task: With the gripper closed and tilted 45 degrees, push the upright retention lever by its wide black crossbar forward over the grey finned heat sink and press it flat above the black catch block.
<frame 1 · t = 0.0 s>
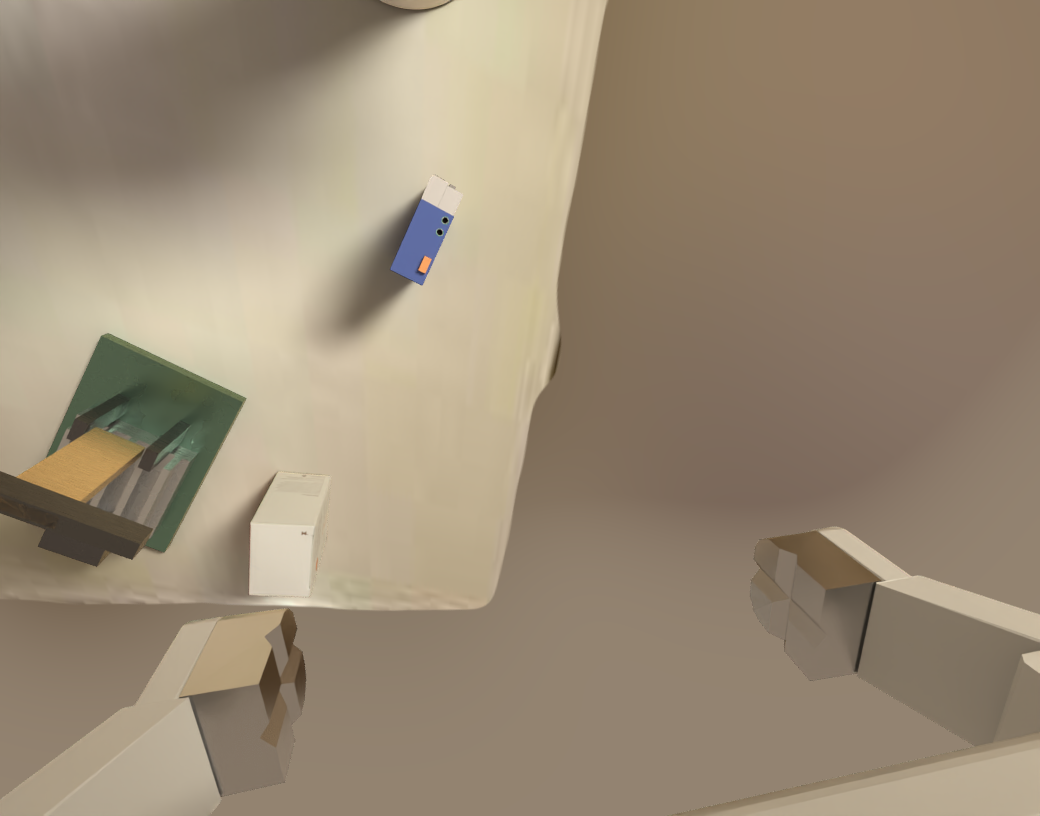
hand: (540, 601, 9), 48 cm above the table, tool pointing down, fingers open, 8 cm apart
small box: (303, 504, 59), on the table
retention lever: (77, 472, 41), point 13 cm above the table, hinge at 0.0°
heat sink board: (157, 414, 53), on the table
walkman: (424, 229, 52), on the table
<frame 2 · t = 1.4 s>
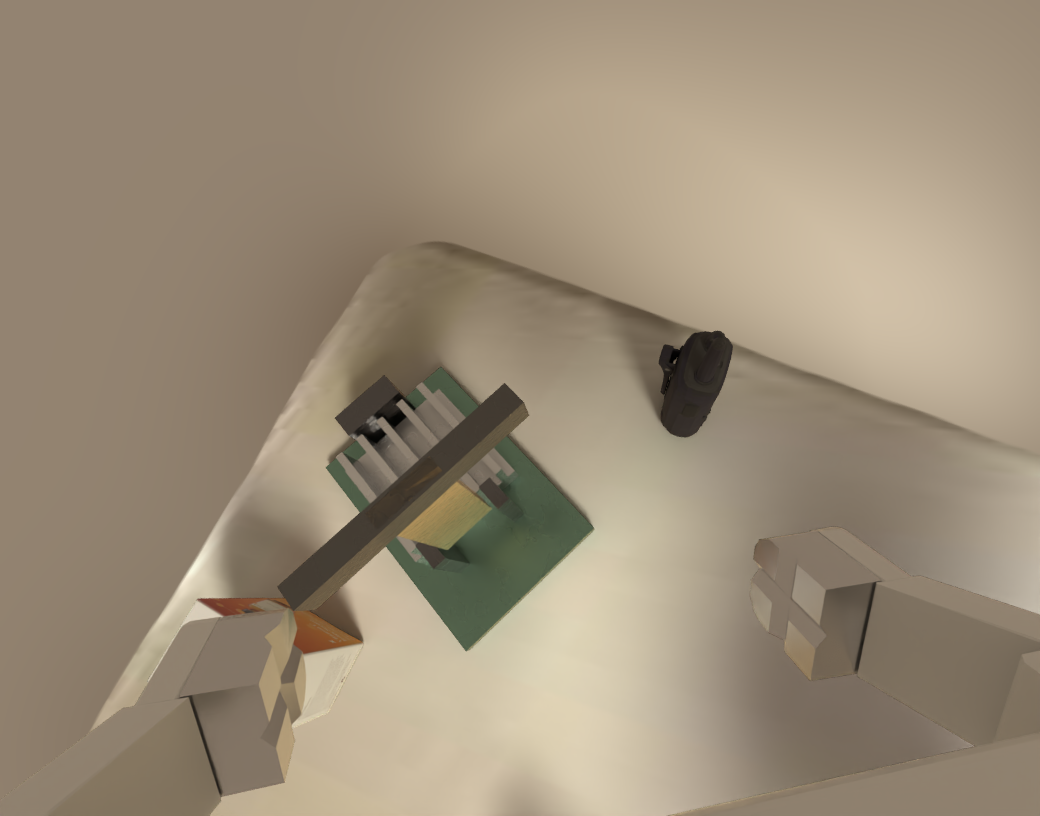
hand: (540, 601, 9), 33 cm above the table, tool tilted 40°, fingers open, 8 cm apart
small box: (308, 652, 42), on the table
retention lever: (440, 511, 31), point 13 cm above the table, hinge at 0.0°
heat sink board: (487, 534, 43), on the table
two-way radio: (676, 408, 44), on the table
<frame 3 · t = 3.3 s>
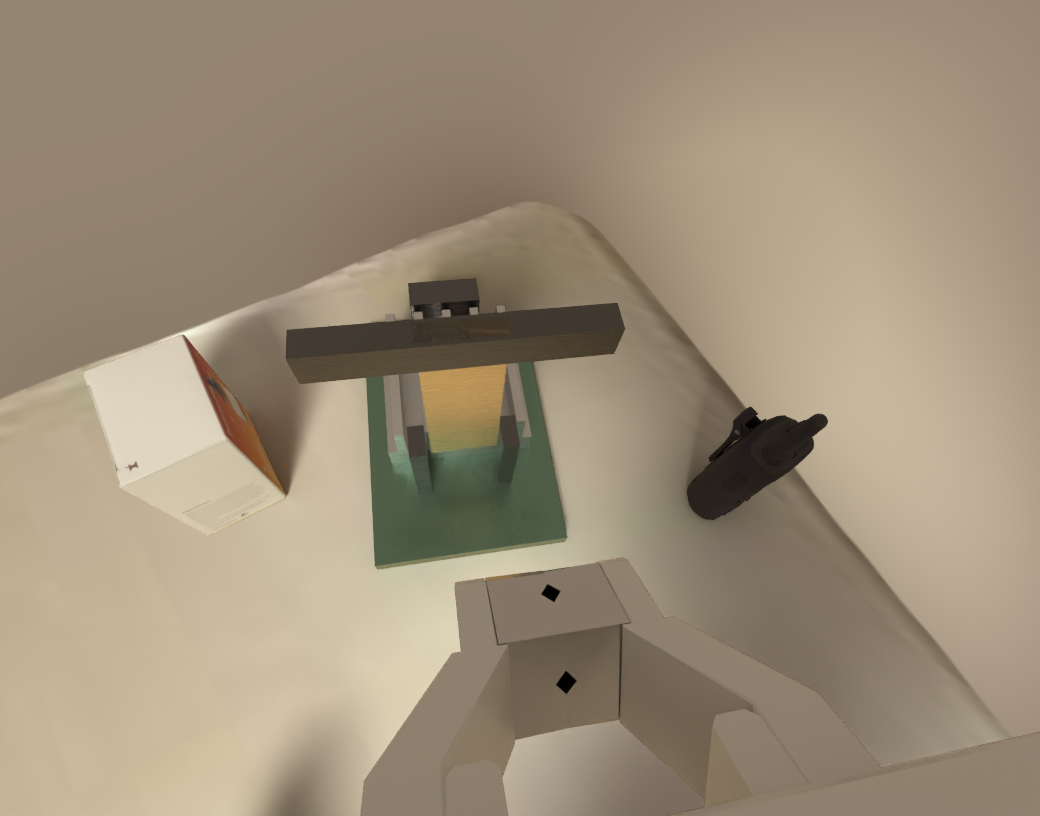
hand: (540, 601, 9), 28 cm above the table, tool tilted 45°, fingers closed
small box: (230, 471, 39), on the table
retention lever: (462, 396, 28), point 13 cm above the table, hinge at 0.0°
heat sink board: (464, 480, 40), on the table
two-way radio: (707, 487, 41), on the table
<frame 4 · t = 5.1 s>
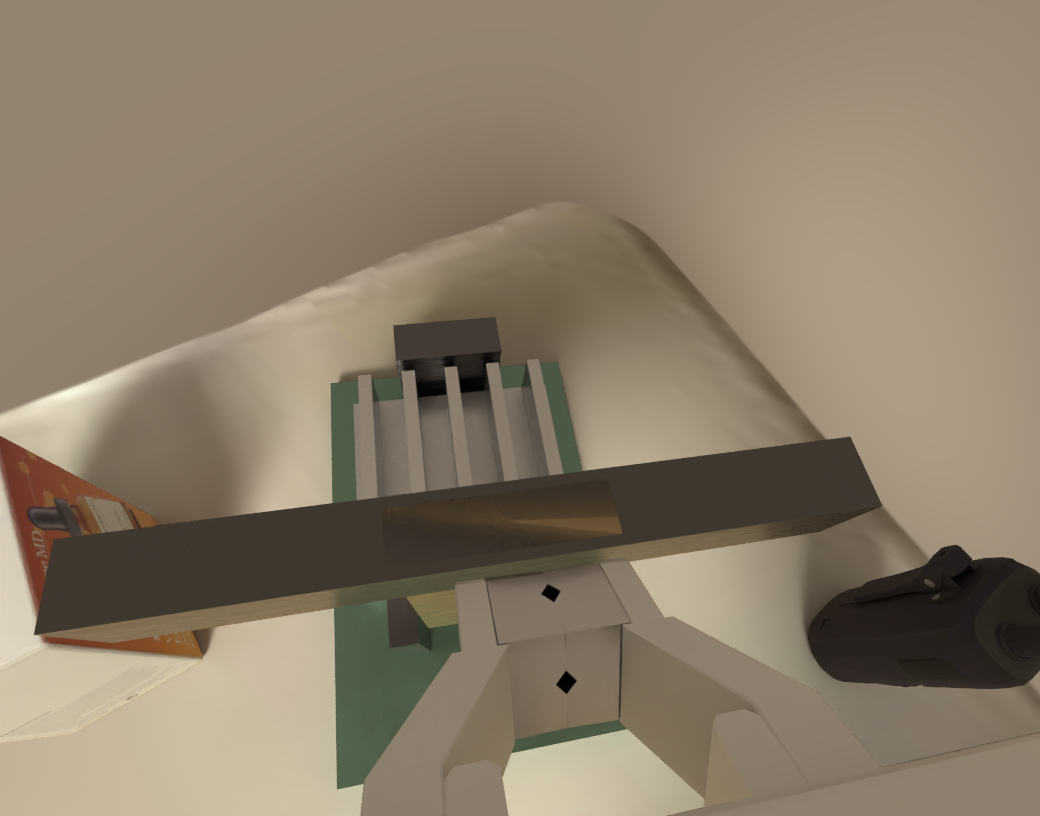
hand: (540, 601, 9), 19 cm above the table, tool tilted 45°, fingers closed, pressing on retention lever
small box: (120, 614, 25), on the table
retention lever: (488, 578, 15), point 13 cm above the table, hinge at 0.1°, touching gripper
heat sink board: (477, 622, 26), on the table
two-way radio: (834, 625, 28), on the table
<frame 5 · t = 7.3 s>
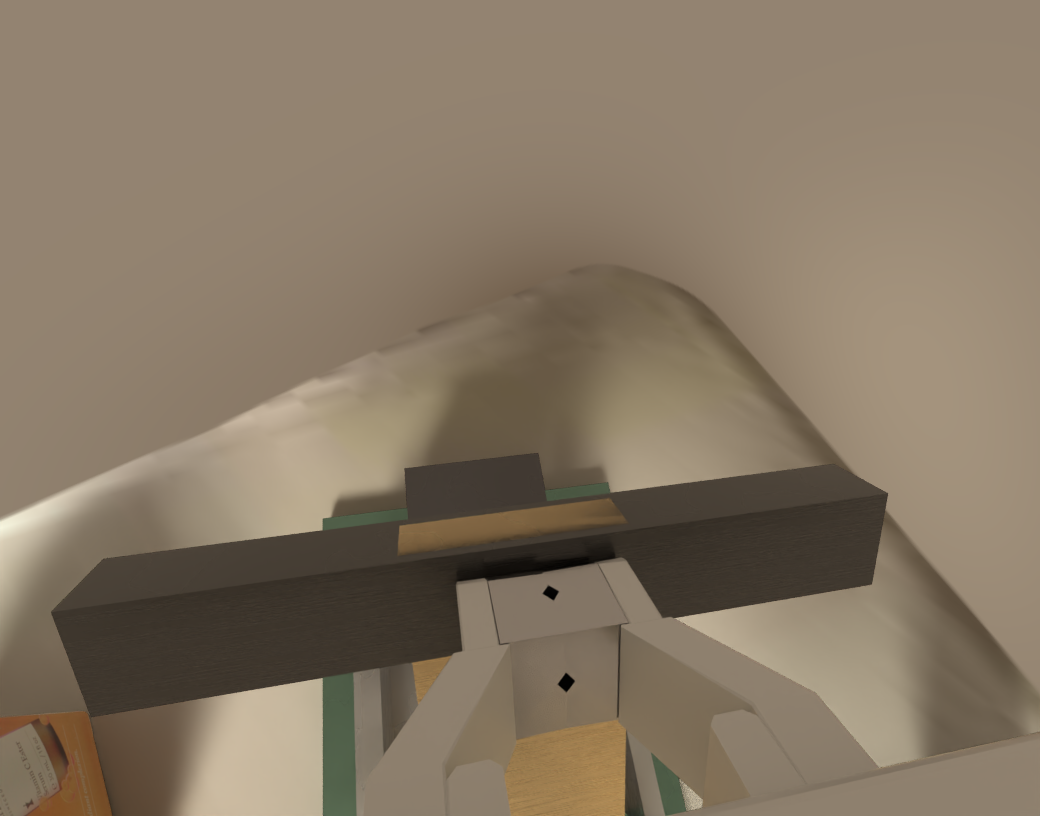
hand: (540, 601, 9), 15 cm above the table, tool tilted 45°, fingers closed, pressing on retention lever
retention lever: (527, 773, 12), point 11 cm above the table, hinge at 46.3°, touching gripper
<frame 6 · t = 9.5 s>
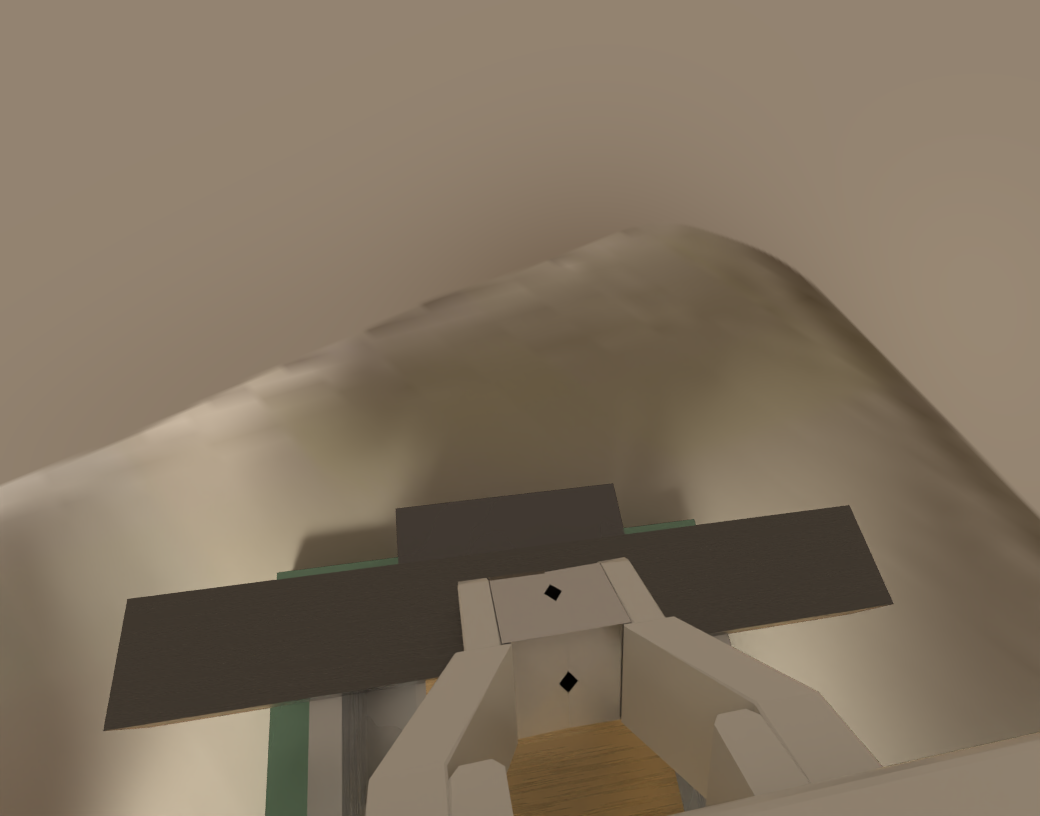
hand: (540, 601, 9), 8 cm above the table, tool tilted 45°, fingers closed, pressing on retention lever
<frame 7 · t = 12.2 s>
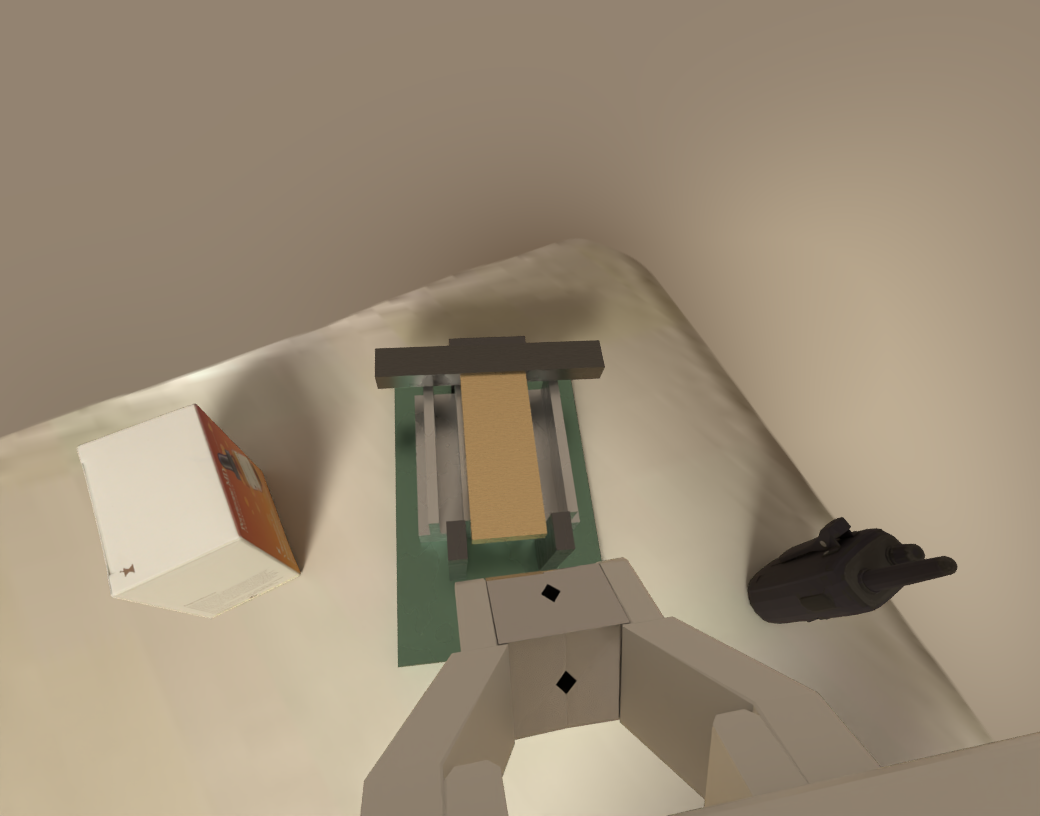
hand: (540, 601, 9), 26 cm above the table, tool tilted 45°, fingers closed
small box: (239, 540, 35), on the table
retention lever: (498, 436, 32), point 7 cm above the table, hinge at 91.4°
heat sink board: (499, 562, 35), on the table
two-way radio: (769, 583, 37), on the table
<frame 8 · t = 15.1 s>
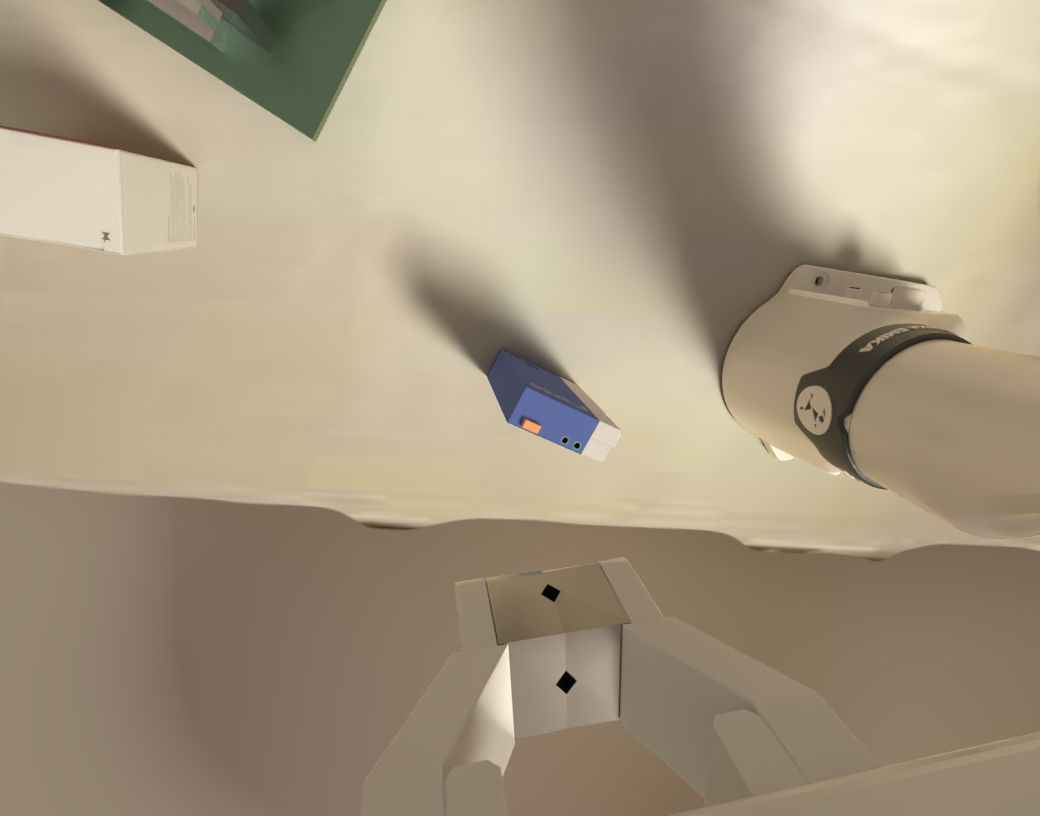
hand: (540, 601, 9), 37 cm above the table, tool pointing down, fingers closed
small box: (138, 198, 38), on the table
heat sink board: (282, 0, 36), on the table
walkman: (532, 379, 48), on the table
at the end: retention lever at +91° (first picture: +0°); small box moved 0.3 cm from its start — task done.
